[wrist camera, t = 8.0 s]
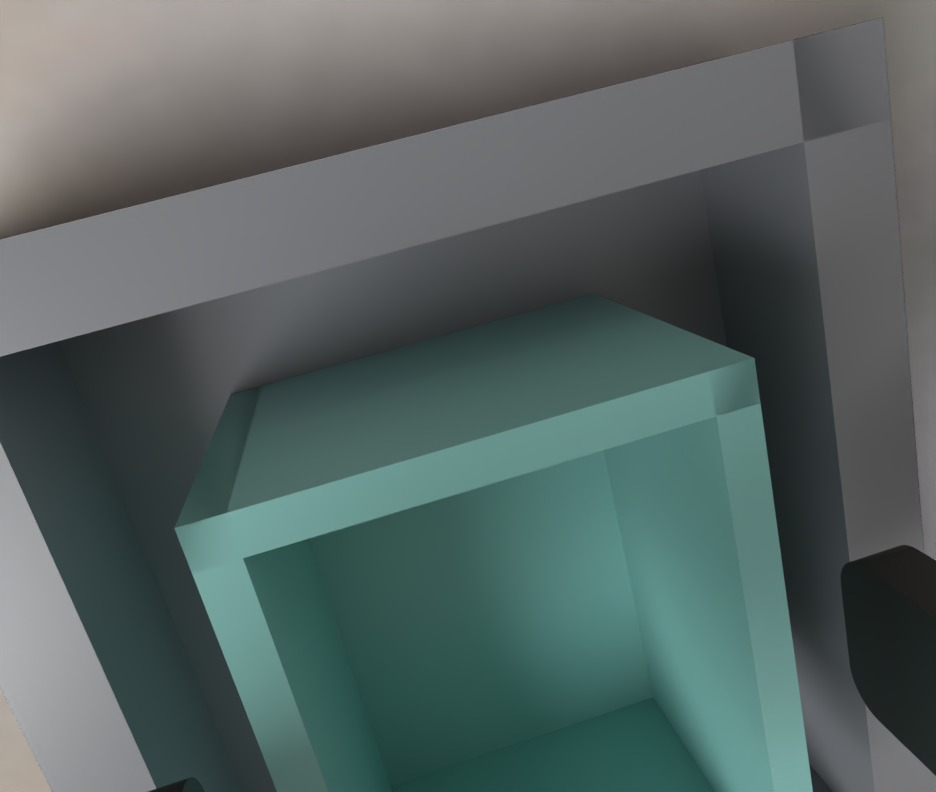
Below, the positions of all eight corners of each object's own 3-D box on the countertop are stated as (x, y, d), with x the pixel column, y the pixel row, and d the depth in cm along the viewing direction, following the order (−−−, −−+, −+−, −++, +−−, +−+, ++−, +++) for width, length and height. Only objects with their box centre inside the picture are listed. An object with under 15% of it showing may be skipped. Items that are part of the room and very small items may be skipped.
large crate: (-52, 259, 12) (-200, 289, 8) (738, 60, 13) (883, 17, 10) (250, 947, 16) (232, 1151, 12) (826, 742, 17) (949, 878, 14)
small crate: (230, 394, 12) (174, 528, 8) (593, 294, 13) (753, 358, 8) (369, 796, 15) (394, 1091, 10) (671, 694, 15) (830, 925, 10)
